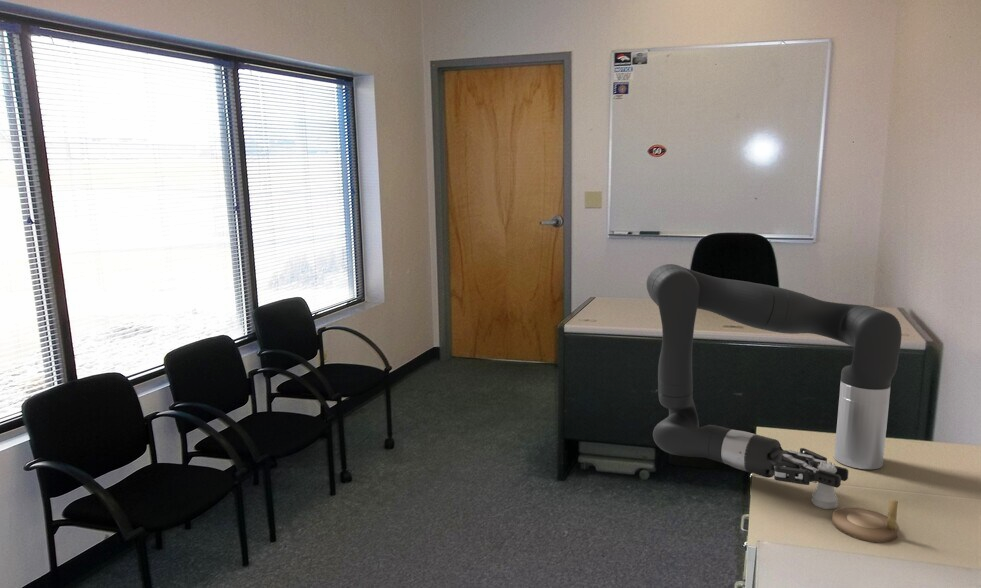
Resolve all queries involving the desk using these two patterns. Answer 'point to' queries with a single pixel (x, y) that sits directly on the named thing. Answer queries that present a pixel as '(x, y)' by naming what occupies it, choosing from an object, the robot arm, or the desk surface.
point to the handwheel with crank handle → (867, 523)
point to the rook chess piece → (825, 490)
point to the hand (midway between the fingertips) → (843, 478)
